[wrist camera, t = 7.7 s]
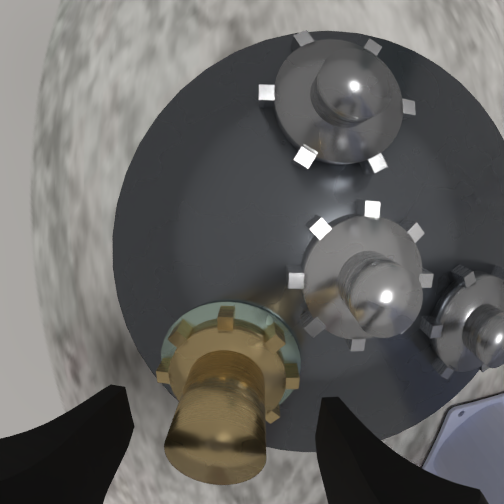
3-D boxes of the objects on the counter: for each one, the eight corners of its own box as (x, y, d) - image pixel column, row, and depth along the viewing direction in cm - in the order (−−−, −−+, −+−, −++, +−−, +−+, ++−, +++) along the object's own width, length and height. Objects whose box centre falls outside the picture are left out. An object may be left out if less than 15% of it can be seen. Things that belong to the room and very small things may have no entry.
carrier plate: (514, 88, 12) (568, 74, 7) (468, 415, 16) (500, 457, 11) (127, 45, 12) (83, 2, 7) (147, 432, 16) (124, 488, 12)
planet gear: (301, 307, 13) (326, 383, 8) (291, 418, 15) (301, 505, 9) (157, 302, 13) (103, 370, 8) (170, 412, 15) (140, 493, 9)
